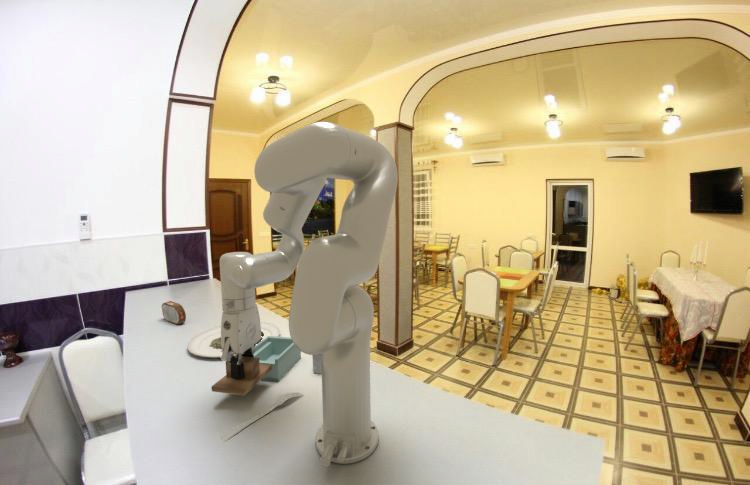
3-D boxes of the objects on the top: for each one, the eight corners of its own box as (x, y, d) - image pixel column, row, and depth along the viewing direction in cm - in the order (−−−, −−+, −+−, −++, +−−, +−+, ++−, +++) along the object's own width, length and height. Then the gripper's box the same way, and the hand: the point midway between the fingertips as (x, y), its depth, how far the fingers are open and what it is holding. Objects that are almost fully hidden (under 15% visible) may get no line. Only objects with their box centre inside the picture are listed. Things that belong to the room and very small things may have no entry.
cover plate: (244, 395, 72) (243, 374, 71) (211, 391, 74) (210, 370, 73) (271, 369, 84) (270, 350, 83) (242, 366, 85) (242, 347, 85)
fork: (218, 448, 65) (215, 437, 64) (299, 392, 81) (298, 382, 80) (224, 455, 63) (221, 443, 63) (306, 396, 79) (305, 386, 78)
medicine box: (327, 374, 88) (326, 345, 87) (312, 373, 89) (311, 344, 88) (336, 361, 96) (335, 334, 95) (322, 360, 97) (321, 333, 96)
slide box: (278, 382, 85) (277, 359, 84) (242, 378, 87) (241, 356, 86) (300, 357, 98) (300, 338, 98) (269, 354, 101) (268, 335, 100)
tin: (187, 324, 129) (185, 304, 128) (179, 327, 126) (177, 306, 125) (169, 318, 137) (167, 299, 136) (161, 320, 134) (159, 301, 133)
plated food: (199, 372, 91) (199, 361, 90) (179, 340, 113) (179, 331, 113) (294, 342, 110) (294, 333, 110) (261, 320, 133) (261, 312, 133)
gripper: (230, 315, 68) (235, 394, 70) (271, 294, 84) (273, 359, 86) (200, 313, 69) (206, 391, 71) (245, 292, 85) (249, 357, 87)
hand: (243, 373), depth 79 cm, fingers closed on cover plate, 3 cm apart
